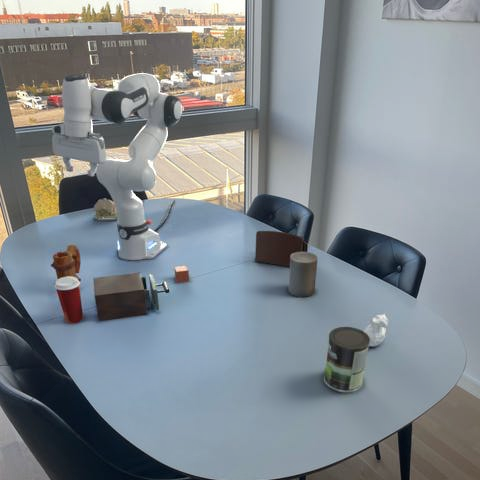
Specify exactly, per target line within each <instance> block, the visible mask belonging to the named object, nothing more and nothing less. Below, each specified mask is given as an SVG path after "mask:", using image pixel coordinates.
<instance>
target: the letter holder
mask: <svg viewBox="0 0 480 480" xmlns="http://www.w3.org/2000/svg"><path fill="white" fill-rule="evenodd" d="M308 249H309V243H308V242H306V241H305V240H304V238H303V237H302V236H300V235H297V234H293V233H289V232H284V231H276V230H257V231H256V233H255V254H254V255H255V256H254V262H257V263H258V262H259V263H264V264H269V265H276V266H281V267H288V268H290V256H291V254H293V253H296V252H308Z"/></svg>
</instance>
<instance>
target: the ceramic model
mask: <svg viewBox="0 0 480 480" xmlns="http://www.w3.org/2000/svg"><path fill="white" fill-rule="evenodd" d="M93 211H94V212H95V214H94V216H95V217H97V218H95V217H94V216H93V218H94V220H97V221H118V219H117V213H116V207H115V204H114V201H113V200H111V199H107V198H106V197H104V198H102V199H98V200H97V202H96V203H94V205H93ZM103 217H104V218H115V219H102V218H103ZM99 218H100V219H99Z"/></svg>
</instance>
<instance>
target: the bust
mask: <svg viewBox="0 0 480 480" xmlns="http://www.w3.org/2000/svg"><path fill="white" fill-rule="evenodd" d="M369 322H370V323H371V324H368V325H367V326H366V327H365V328H364V329H363V331H364V332H365V333H366V334H367V335H368V336H369V337H370V344H369V347H372V348H373V347H377V346H379V345H381V344H382V343H383V342H384V340H385V338H386V332H387V327H388V325H389V319H388V318H387V316H386V314H385V313H382V314H377V315H375V316H374V317H372V318H369Z"/></svg>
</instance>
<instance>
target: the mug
mask: <svg viewBox="0 0 480 480" xmlns="http://www.w3.org/2000/svg"><path fill="white" fill-rule="evenodd" d="M52 259H53V262H52V263H51V264H50V267H52V268H53V269H54V270H55V275H56V278H57V279H56V280H58V279H60V278H62V277H67V276H72V277H76V278H77V279H78V281H79V282H80V283H81V281H82V278H80V277H79V276H78V275H77V274H80V270H81V262H82V261H81V253H80V250H79V248H78V247H77V246H76V245H75V244H68V245H67V247H66V250H64V251H58V252H57V253H54V254H53V256H52ZM53 284H54V285H55V282H54V283H53Z"/></svg>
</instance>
